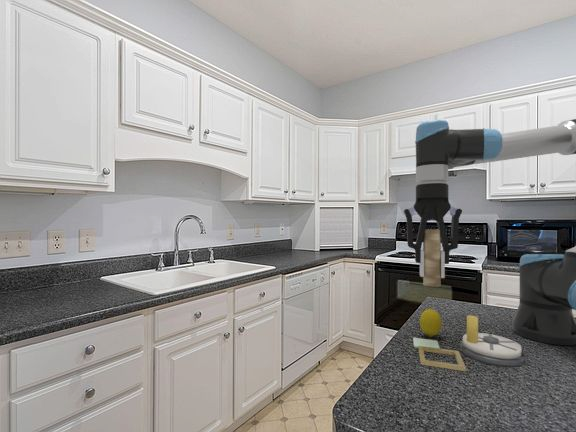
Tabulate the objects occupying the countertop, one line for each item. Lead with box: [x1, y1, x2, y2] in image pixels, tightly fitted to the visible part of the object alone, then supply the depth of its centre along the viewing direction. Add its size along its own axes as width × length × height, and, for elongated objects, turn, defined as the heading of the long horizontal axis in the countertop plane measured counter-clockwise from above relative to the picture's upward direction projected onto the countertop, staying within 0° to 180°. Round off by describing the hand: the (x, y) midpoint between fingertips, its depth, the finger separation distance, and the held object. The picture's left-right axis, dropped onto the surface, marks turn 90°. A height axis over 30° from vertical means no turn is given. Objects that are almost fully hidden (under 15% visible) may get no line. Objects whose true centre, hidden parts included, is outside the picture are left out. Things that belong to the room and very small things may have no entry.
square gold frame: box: [417, 346, 467, 372], centre depth 74 cm, size 9×9×1 cm
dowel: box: [422, 228, 442, 288], centre depth 80 cm, size 4×4×14 cm
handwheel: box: [462, 314, 522, 359], centre depth 77 cm, size 12×12×8 cm
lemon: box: [419, 308, 443, 338], centre depth 88 cm, size 6×6×8 cm
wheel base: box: [460, 340, 525, 368], centre depth 77 cm, size 13×13×1 cm
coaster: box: [412, 337, 441, 349], centre depth 82 cm, size 6×6×1 cm
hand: (431, 276), depth 80 cm, fingers closed on dowel, 4 cm apart
